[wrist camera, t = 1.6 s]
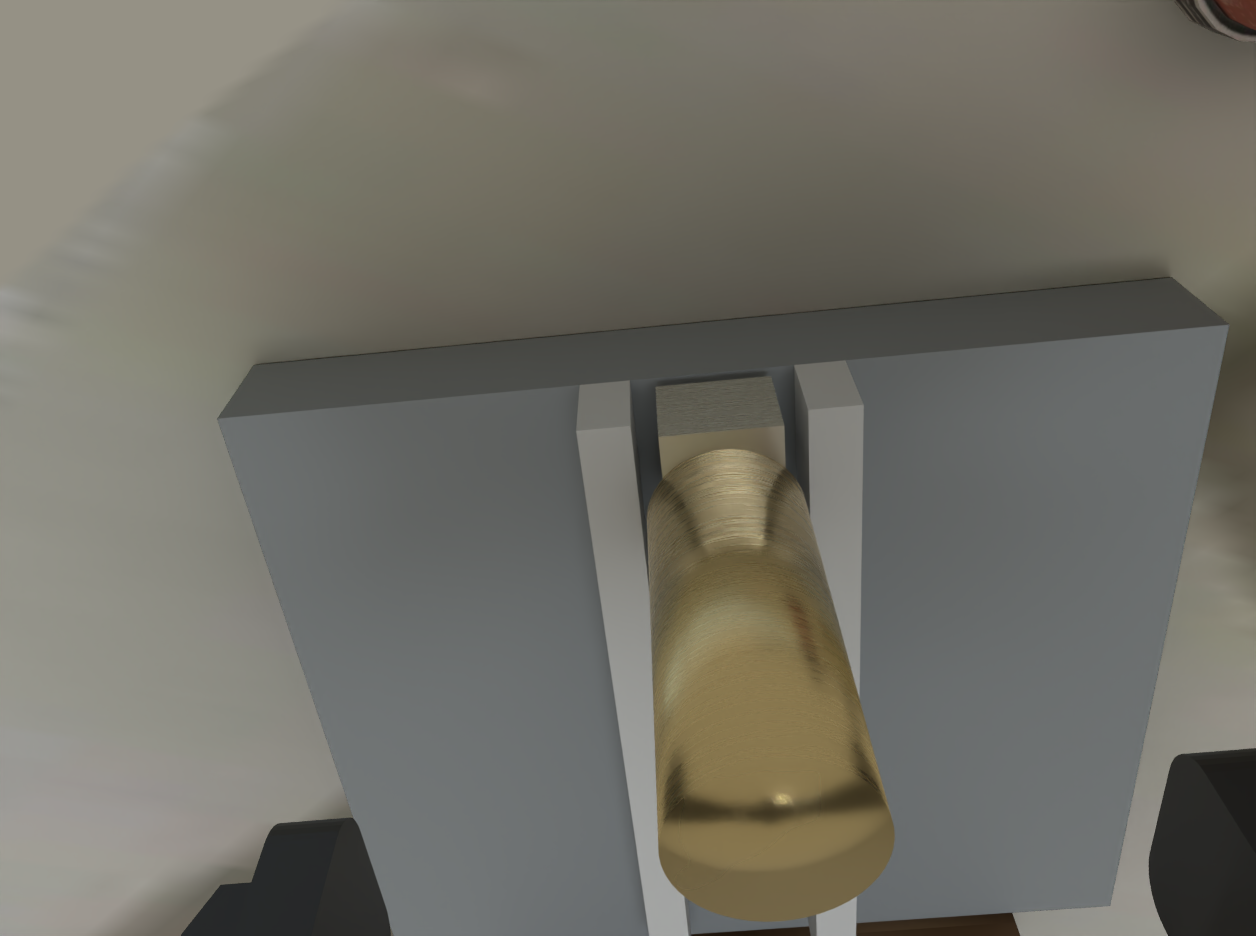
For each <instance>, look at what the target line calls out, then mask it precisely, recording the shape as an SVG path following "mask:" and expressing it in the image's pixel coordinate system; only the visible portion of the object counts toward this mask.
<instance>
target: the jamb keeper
mask: <svg viewBox="0 0 1256 936" xmlns="http://www.w3.org/2000/svg"><path fill="white" fill-rule="evenodd" d="M691 936H811V934H810V928H809V926H806V927H791V928H776V929H762V930H747V931H732V932H717V933H702V934H691ZM856 936H1020V934H1019V931H1018V928H1017V925H1016V923H1015V920H1014V917H1013V914H1012V913H998V914H983V915H969V916H954V917H939V918H924V919H910V920H895V921H880V922H865V923H856Z"/></svg>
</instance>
